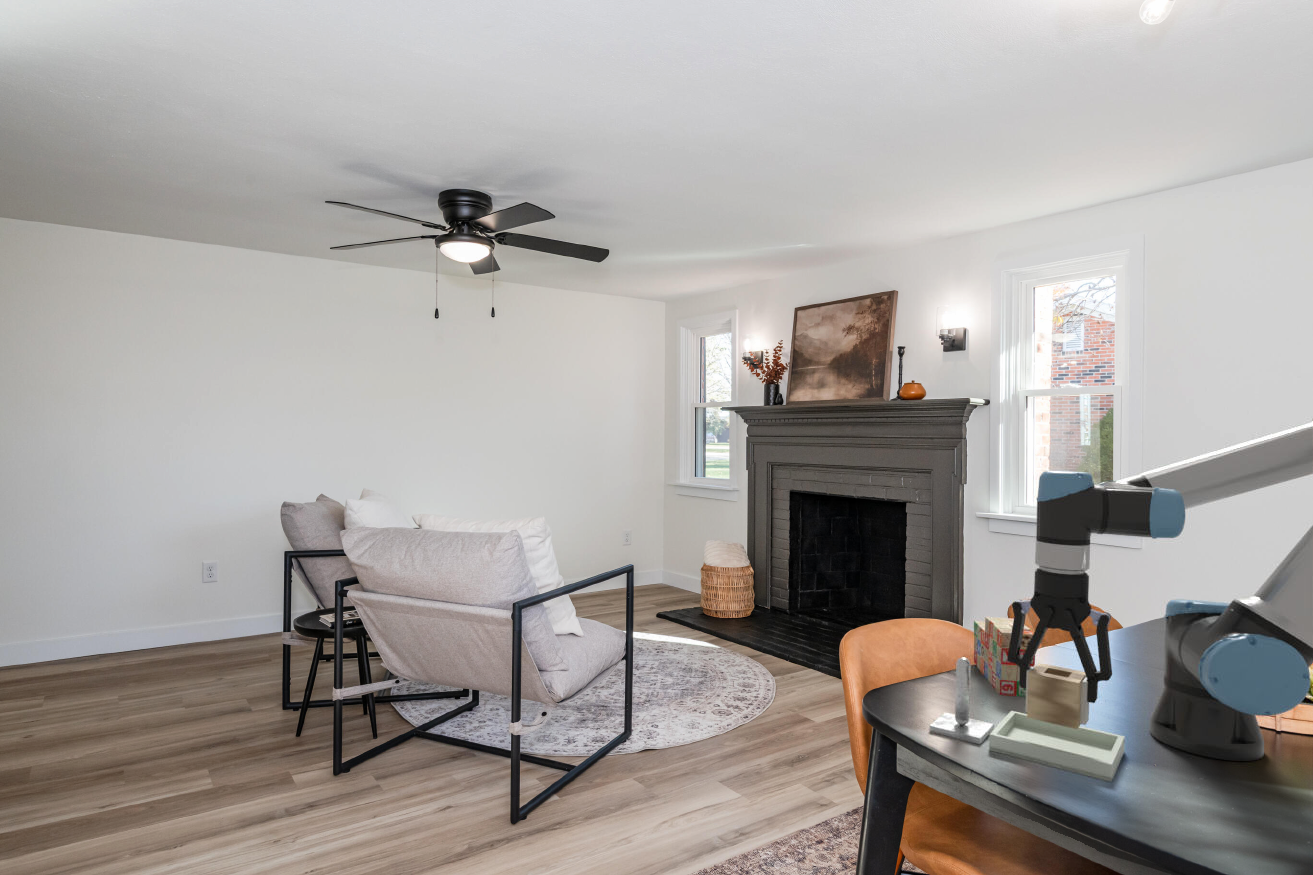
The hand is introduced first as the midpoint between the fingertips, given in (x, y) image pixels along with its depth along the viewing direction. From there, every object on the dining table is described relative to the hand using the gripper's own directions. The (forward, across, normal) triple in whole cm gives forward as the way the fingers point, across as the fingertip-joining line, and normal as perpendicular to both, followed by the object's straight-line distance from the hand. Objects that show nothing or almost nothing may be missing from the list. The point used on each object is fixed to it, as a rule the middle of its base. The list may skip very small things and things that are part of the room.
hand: (1056, 715), depth 120 cm
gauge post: (+6, +14, +1) cm, 15 cm away
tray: (+6, 0, 0) cm, 6 cm away
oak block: (0, 0, 0) cm, 0 cm away
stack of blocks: (+6, +16, -33) cm, 37 cm away
